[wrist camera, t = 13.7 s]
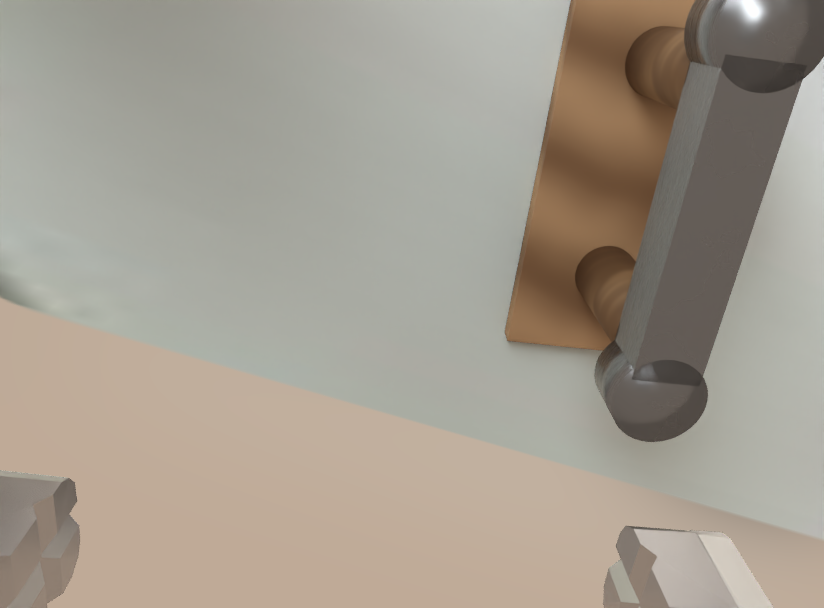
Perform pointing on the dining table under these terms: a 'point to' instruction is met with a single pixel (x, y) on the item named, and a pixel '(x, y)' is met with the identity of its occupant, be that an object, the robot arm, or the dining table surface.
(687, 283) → the metal bar
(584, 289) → the spanner rest
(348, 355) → the dining table surface
